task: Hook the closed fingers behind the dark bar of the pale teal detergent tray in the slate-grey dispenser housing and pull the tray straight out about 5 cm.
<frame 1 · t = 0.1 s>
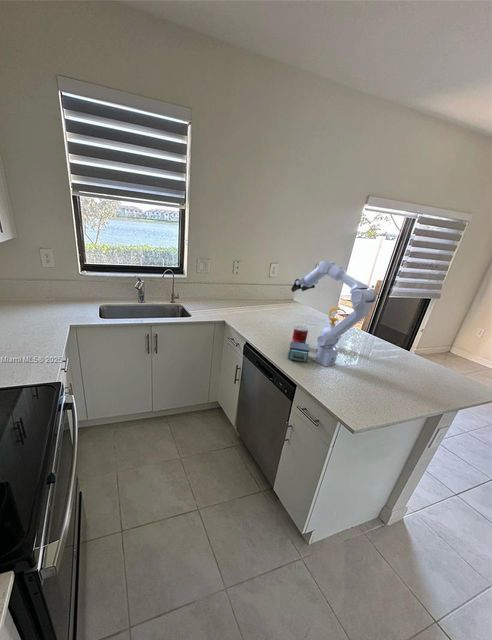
hand: (297, 290, 162), 32 cm above the worktop, tool tilted 50°, fingers open, 7 cm apart
detergent tray: (298, 354, 152), point 3 cm above the worktop, slide at 0.5 cm
dispenser: (297, 356, 157), on the worktop
canned food: (297, 346, 173), on the worktop
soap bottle: (326, 347, 174), on the worktop
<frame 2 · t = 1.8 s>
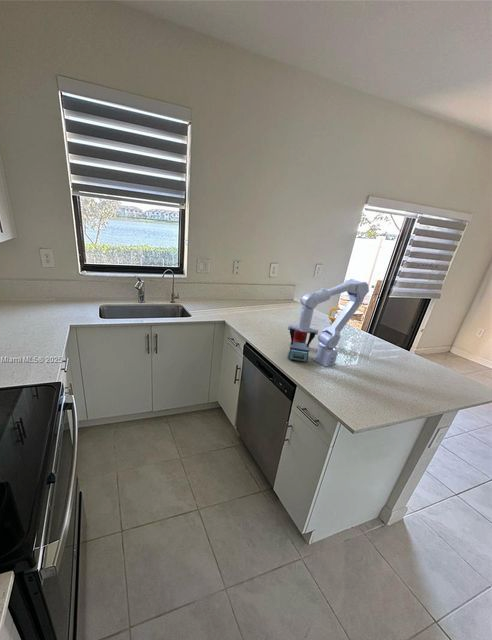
hand: (299, 345, 146), 10 cm above the worktop, tool pointing down, fingers open, 7 cm apart
nothing on the worktop moved.
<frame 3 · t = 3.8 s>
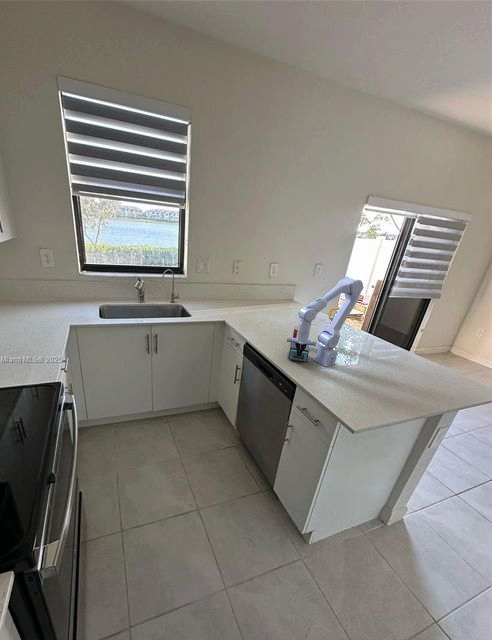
hand: (298, 356, 149), 3 cm above the worktop, tool pointing down, fingers closed, pressing on detergent tray
detergent tray: (298, 354, 152), point 3 cm above the worktop, slide at 0.4 cm, touching gripper
everything else where it was.
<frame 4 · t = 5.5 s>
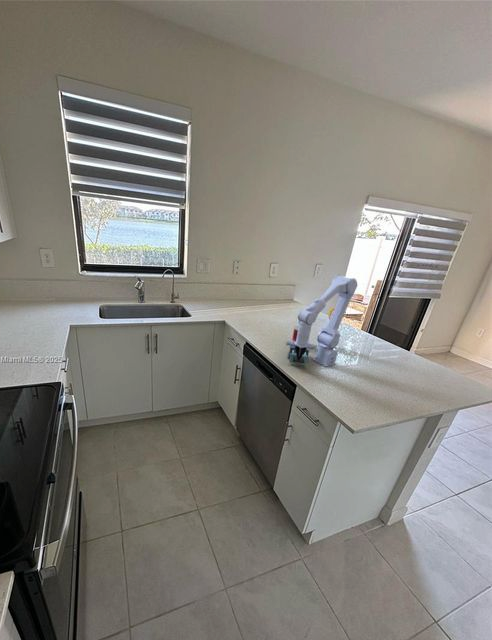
hand: (298, 360, 144), 3 cm above the worktop, tool pointing down, fingers closed, pressing on detergent tray
detergent tray: (298, 357, 148), point 3 cm above the worktop, slide at 5.4 cm, touching gripper
everything else where it was.
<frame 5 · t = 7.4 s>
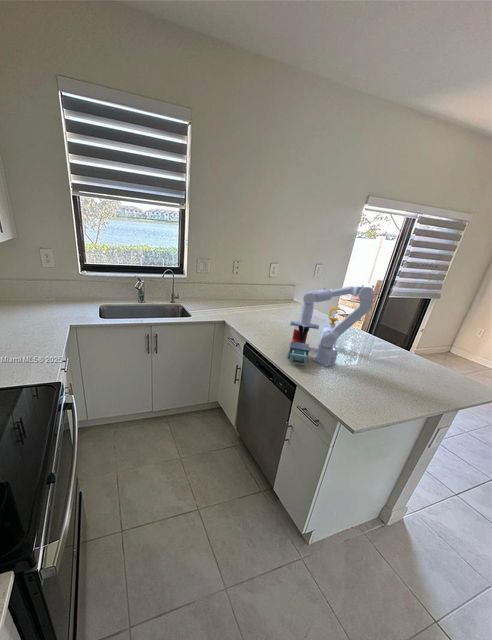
hand: (301, 339, 155), 9 cm above the worktop, tool pointing down, fingers closed
detergent tray: (298, 357, 148), point 3 cm above the worktop, slide at 5.4 cm
everything else where it was.
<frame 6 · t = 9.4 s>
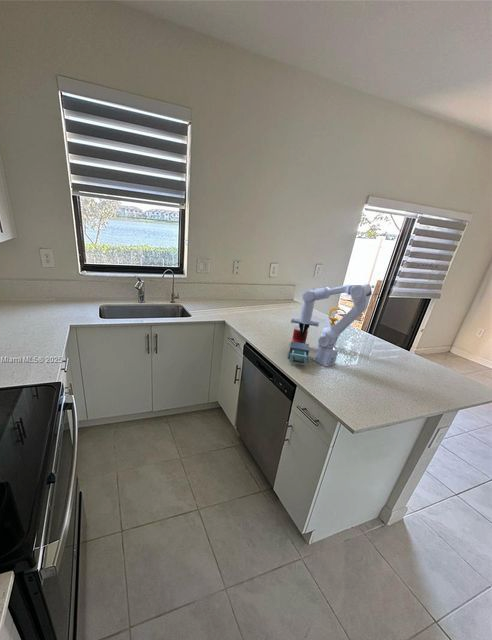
hand: (301, 336, 159), 9 cm above the worktop, tool pointing down, fingers closed
nothing on the worktop moved.
at the end: detergent tray slide at 5.4 cm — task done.
